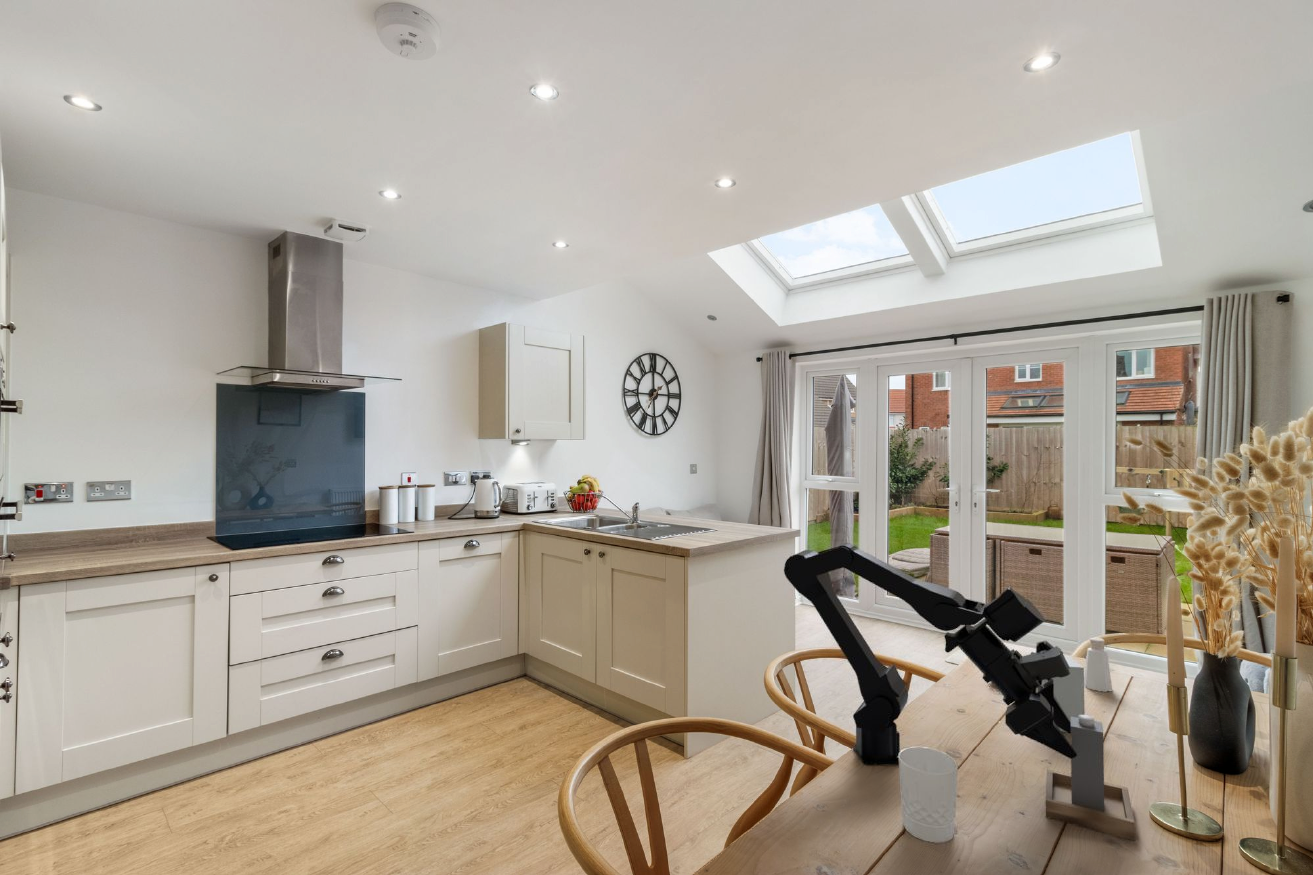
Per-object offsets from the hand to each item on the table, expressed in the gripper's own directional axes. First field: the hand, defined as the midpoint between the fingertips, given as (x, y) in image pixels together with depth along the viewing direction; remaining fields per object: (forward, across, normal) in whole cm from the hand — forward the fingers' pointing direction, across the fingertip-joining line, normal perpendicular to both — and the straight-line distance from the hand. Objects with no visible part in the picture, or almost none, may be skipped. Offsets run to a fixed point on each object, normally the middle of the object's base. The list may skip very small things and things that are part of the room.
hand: (1073, 744), depth 97 cm
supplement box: (+5, +32, +9) cm, 33 cm away
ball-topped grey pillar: (+7, 0, +5) cm, 9 cm away
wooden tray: (+8, 0, +6) cm, 10 cm away
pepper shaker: (+11, +58, +3) cm, 60 cm away
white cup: (-6, -18, +20) cm, 27 cm away
